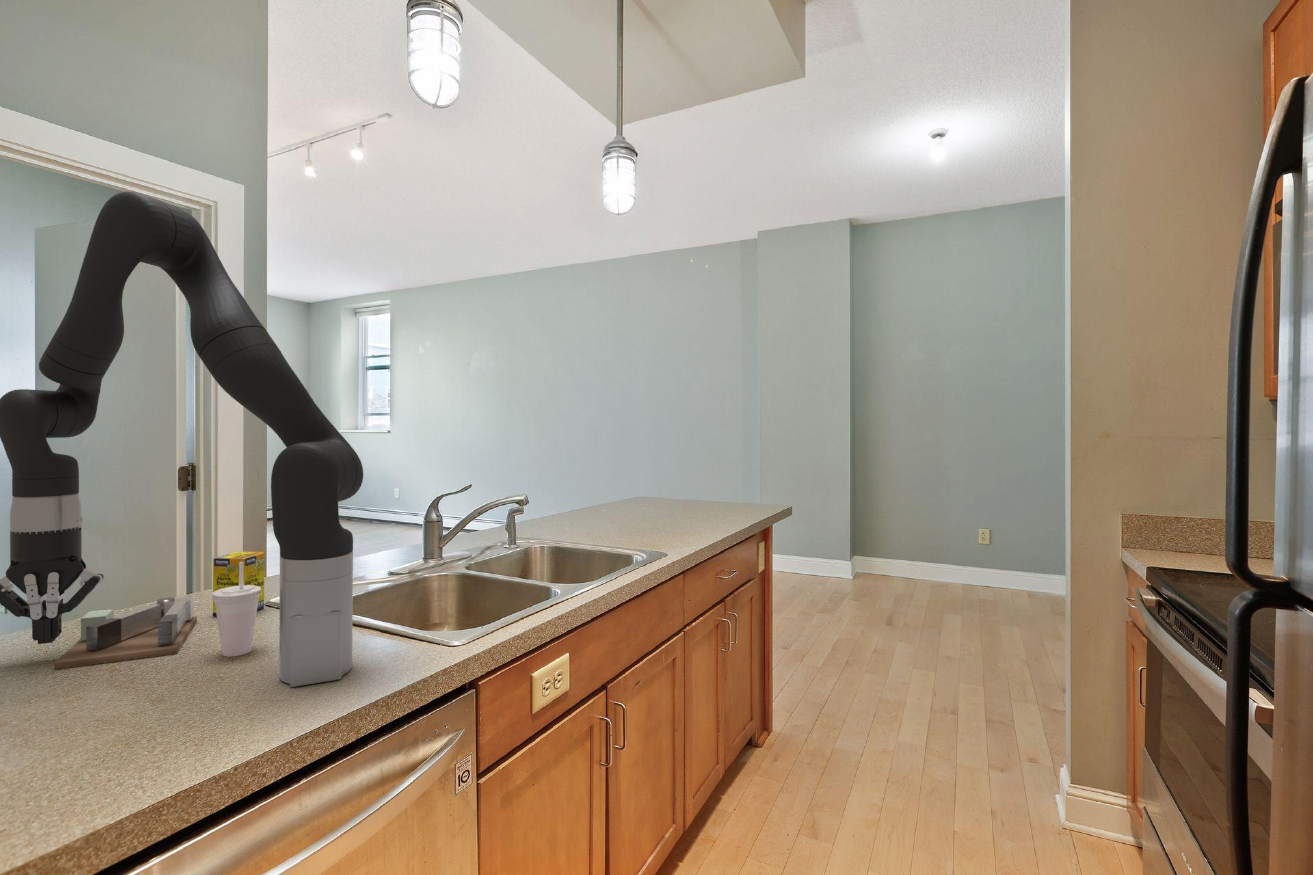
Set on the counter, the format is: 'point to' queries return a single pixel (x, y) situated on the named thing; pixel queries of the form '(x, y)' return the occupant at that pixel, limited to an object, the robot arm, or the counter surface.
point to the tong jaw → (122, 627)
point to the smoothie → (236, 615)
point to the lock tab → (94, 619)
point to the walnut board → (124, 649)
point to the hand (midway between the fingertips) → (47, 641)
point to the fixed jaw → (173, 618)
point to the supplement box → (229, 572)
